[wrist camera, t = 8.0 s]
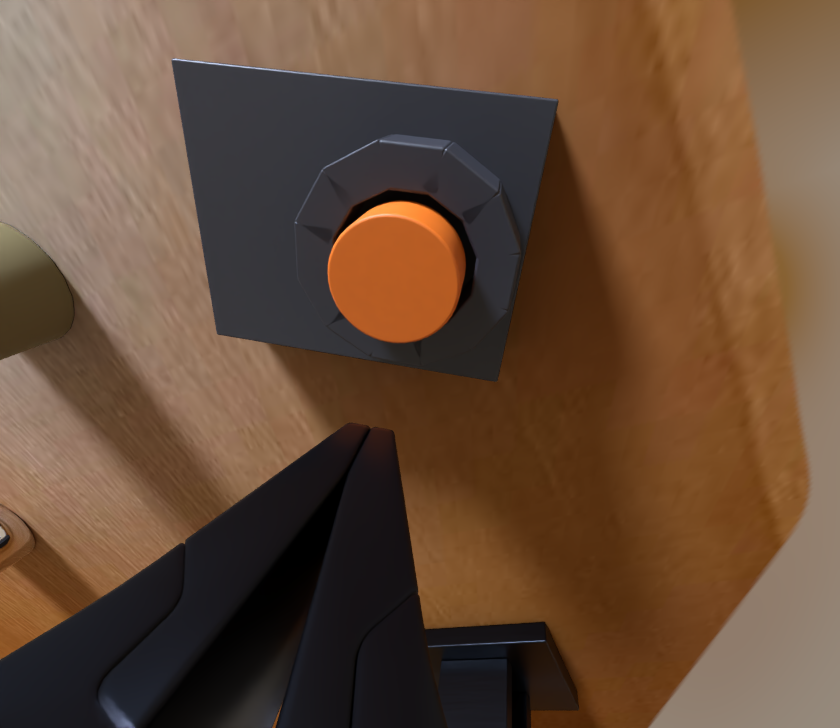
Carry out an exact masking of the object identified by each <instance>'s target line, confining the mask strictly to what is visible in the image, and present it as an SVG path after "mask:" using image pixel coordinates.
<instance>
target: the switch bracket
mask: <svg viewBox="0 0 840 728" xmlns="http://www.w3.org/2000/svg"><path fill="white" fill-rule="evenodd" d="M425 634H426V639H427V644H428V650H429V655H430V660H431V664H432V668H433V672H434V676H435V681H436V684H437V688H438V692H439V696H440V700H441V704H442V708H443V712H444V715H445V719H446V722H447V726H448V728H531V710H579V704H578V695H577V690H576V688H575V686H574V684H573V682H572V679H571V677H570V675H569V673H568V671H567V669H566V667H565V664H564V662H563V660H562V658H561V656H560V654H559V652H558V649H557V647H556V645H555V643H554V641H553V639H552V637H551V634H550V632H549V630H548V628H547V626H546V624H545V622H536V623H521V624H505V625H489V626H473V627H457V628H441V629H425Z"/></svg>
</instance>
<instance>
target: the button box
mask: <svg viewBox="0 0 840 728" xmlns="http://www.w3.org/2000/svg"><path fill="white" fill-rule="evenodd" d="M172 66H173V72H174V78H175V84H176V90H177V96H178V102H179V108H180V114H181V120H182V126H183V132H184V138H185V144H186V150H187V156H188V162H189V168H190V174H191V180H192V186H193V192H194V198H195V204H196V210H197V216H198V222H199V228H200V234H201V240H202V246H203V252H204V258H205V264H206V270H207V276H208V282H209V288H210V294H211V300H212V306H213V312H214V318H215V324H216V330H217V334H218V335H224V336H230V337H236V338H242V339H248V340H254V341H259V342H265V343H271V344H277V345H283V346H289V347H295V348H300V349H306V350H312V351H318V352H324V353H330V354H336V355H342V356H347V357H353V358H359V359H365V360H371V361H377V362H383V363H389V364H394V365H400V366H406V367H412V368H418V369H424V370H430V371H436V372H441V373H447V374H453V375H459V376H465V377H471V378H477V379H483V380H488V381H494V382H497V381H498V376H499V372H500V367H501V362H502V358H503V353H504V349H505V344H506V340H507V335H508V330H509V326H510V321H511V317H512V312H513V308H514V303H515V298H516V294H517V289H518V285H519V280H520V276H521V271H522V266H523V262H524V257H525V253H526V248H527V244H528V239H529V234H530V230H531V225H532V221H533V216H534V211H535V207H536V202H537V198H538V193H539V189H540V184H541V179H542V175H543V170H544V166H545V161H546V157H547V152H548V147H549V143H550V138H551V134H552V129H553V125H554V120H555V115H556V111H557V106H558V100H557V99H550V98H541V97H531V96H522V95H513V94H503V93H494V92H485V91H475V90H466V89H456V88H447V87H438V86H428V85H419V84H410V83H400V82H391V81H381V80H372V79H363V78H353V77H344V76H334V75H325V74H316V73H306V72H297V71H288V70H278V69H269V68H259V67H250V66H241V65H231V64H222V63H213V62H203V61H193V60H184V59H174V58H173V59H172ZM395 200H408V201H414V202H418V203H421V204H424V205H427V206H429V207H431V208H433V209H434V210H436V211H437V212H439V213H440V214H441V215H443V216H444V217H445V218H446V219H447V220H448V221H449V222H450V223H451V225H452V226H453V227H454V229H455V230H456V232H457V233H458V235H459V237H460V239H461V241H462V245H463V248H464V252H465V257H466V271H465V277H464V281H463V285H462V289H461V293H460V297H459V301H458V304H457V306H456V309H455V311H454V313H453V315H452V316H451V318H450V319H449V320H448V322H447V323H446V324H445V325H444V326H443V327H442V328H441V329H439V330H438V331H437V332H436V333H434V334H432V335H430V336H429V337H426V338H424V339H422V340H418V341H415V342H409V343H390V342H385V341H381V340H378V339H375V338H372V337H370V336H368V335H366V334H364V333H363V332H361V331H360V330H358V329H357V328H356V327H354V326H353V325H352V324H351V323H350V322H349V321H348V320H347V319H346V318H345V317H344V316H343V314H342V313H341V312H340V310H339V309H338V307H337V305H336V303H335V301H334V299H333V297H332V294H331V291H330V287H329V282H328V262H329V257H330V254H331V251H332V248H333V246H334V244H335V242H336V240H337V239H338V237H339V236H340V235H341V234H342V232H343V231H344V230H345V229H346V228H347V227H349V226H350V225H351V224H352V223H354V222H355V221H356V220H357V219H358V218H360V217H361V216H362V215H363V214H365V213H366V212H367V211H368V210H370V209H371V208H373V207H375V206H377V205H379V204H382V203H385V202H389V201H395Z"/></svg>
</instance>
